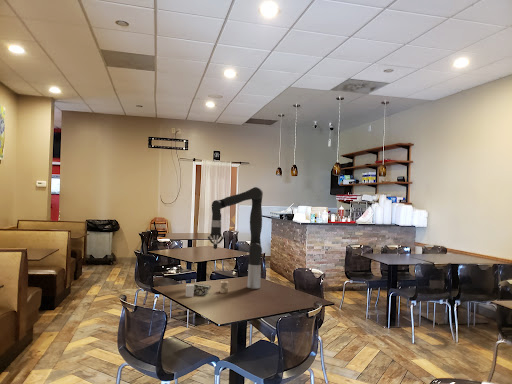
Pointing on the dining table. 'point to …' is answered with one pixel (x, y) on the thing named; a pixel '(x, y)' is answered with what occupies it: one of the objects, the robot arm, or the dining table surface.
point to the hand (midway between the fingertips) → (215, 249)
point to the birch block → (224, 287)
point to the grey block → (189, 290)
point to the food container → (201, 289)
